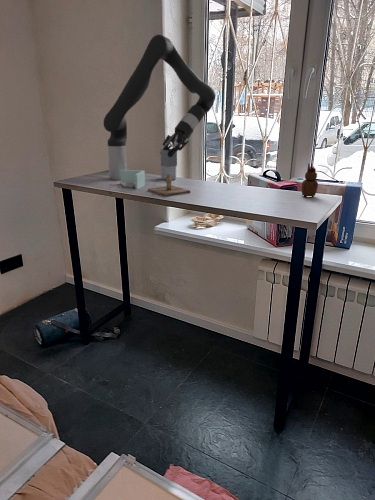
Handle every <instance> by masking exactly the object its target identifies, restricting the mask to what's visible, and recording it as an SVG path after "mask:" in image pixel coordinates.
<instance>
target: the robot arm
mask: <svg viewBox="0 0 375 500" xmlns="http://www.w3.org/2000/svg"><path fill="white" fill-rule="evenodd" d="M160 60H162V61H164V62H165V63H166V64H168V65H169V66H170V67H171V68H172V69H173V71H174V73H175V74H176V76H177V78H178V79H179V80H180V82H181V83H182V84H183V85H184V87H185V88H186V89H187V90H188V91H189V92H190V93H192V94H197V95H198V100H197V102H195V104H193V105H192V106H191V107H190V108H189V109H188V111H187V112H186V113H185V114H184V116H182V118H181V119H180V121H179V122H178V123H177V124H176V126H175V127H174V133H172V134H171V135H170V134H168V135H166V137H165V139H164V140H163V142H162V146H163V147H162V149H171V150H170V152H169V153H168V156H169V157H172V156H173V155H174V153H175V152H176V151H177V152H178V151H180V152H181V151H182V150H183V149H184V148H185V146H187V145H188V143H189V142H190V140H189V138H190V137H191V135H192V134H193V133H194V131H195V130H196V129H197V127H198V126H199V124H200V122H201V121H202V120H203V118H204V116H206V114H208V113H209V112H210V110H211V109H212V108H213V106H214V103H215V100H216V92H215V90H214V89H213V88H212V87H211V86H210V85H209V84H208V83H206V82H205V81H203V80H201V78H200V77H199V76H198V75H197V73H196V72H194V70H193V69H192V68H191V66H189V64H187V62H186V61H185V60H184V59H183V58H182V56H181V55H180V53H179V51H178V50H177V48H176V47H175V46H174V44H173V42H172V41H171V40H170V38H168V37H167V36H164V35H162V34H156V35H153V36H152V37H151V39H150V40H149V42H148V43H147V46H146V49H145V50H144V53H143V55H142V57H141V59H140V61H139V62H138V64H137V66H136V67H135V69H134V71H133V72H132V74H131V76H130V77H129V79H128V81H127V82H126V84H125V86H124V88H123V89H122V90H121V93H120V94H119V95H118V98H117V99H116V100H115V103H114V104H113V106H112V107H111V108H110V109H109V111H108V112H107V113H106V114H105V116H104V118H103V128H104V130H106V131H107V132H110V136H109V138H108V139H107V156H108V161H107V162H108V176H109V179H110V180H113V181H122V180H121V170H128V167H127V151H126V150H127V148H126V147H127V146H126V145H127V144H126V142H127V137H128V129H127V128H128V126H127V123H128V122H127V120H126V117H125V116H126V115H127V113H128V112H129V110H131V109H132V108H133V107H134V106H135V105H136V104H137V103H138V102H139V101H140V100H141V99H142V98H143V96H144V94H145V93H146V91H147V90H148V88H149V86H150V81H151V77H152V73H153V70H154V69H155V67H156V66H157V64H158V62H160ZM159 153H160V155H161V151H160V152H159Z"/></svg>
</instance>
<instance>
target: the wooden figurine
mask: <svg viewBox="0 0 375 500" xmlns="http://www.w3.org/2000/svg"><path fill="white" fill-rule="evenodd" d="M304 178H305V180H303V181H302V183H301V187H300V189H301V191H300V192H301V195H302V196H303V195H305V196H314V197H315V196H316V195H317V192H318V186H319V182H318V181H317V178H318V173H317V170H316V167H315V166H314V165H313V163H311V164H310V162H307V172H305V174H304Z"/></svg>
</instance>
